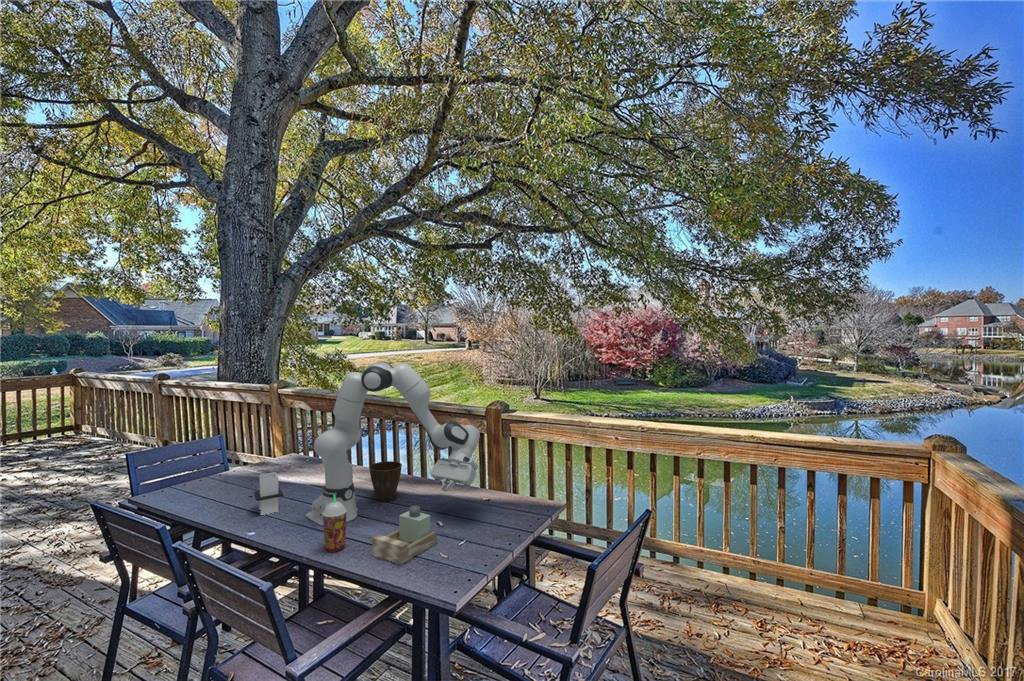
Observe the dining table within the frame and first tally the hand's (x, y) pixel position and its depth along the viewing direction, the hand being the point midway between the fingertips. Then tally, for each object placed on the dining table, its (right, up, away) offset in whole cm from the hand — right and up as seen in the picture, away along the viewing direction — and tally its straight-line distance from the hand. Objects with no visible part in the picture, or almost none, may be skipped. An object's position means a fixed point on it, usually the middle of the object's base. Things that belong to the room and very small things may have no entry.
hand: (444, 490), depth 191 cm
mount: (-11, -15, -19) cm, 27 cm away
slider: (-9, -13, -15) cm, 22 cm away
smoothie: (-38, -16, -19) cm, 45 cm away
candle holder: (-81, -15, +17) cm, 84 cm away
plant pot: (-32, -14, +32) cm, 48 cm away
